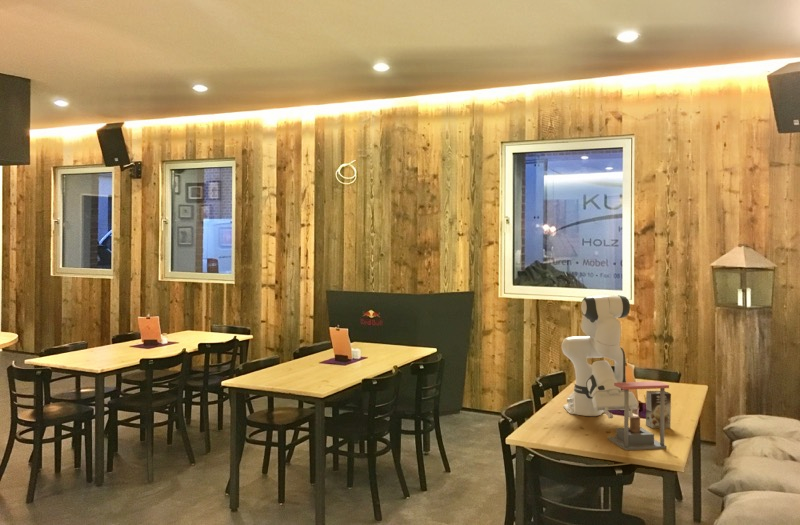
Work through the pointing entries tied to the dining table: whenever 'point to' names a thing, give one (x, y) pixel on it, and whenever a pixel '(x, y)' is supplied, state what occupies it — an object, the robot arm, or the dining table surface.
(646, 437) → the socket stand
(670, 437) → the dining table surface
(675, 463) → the dining table surface
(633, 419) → the walnut peg
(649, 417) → the coffee box
